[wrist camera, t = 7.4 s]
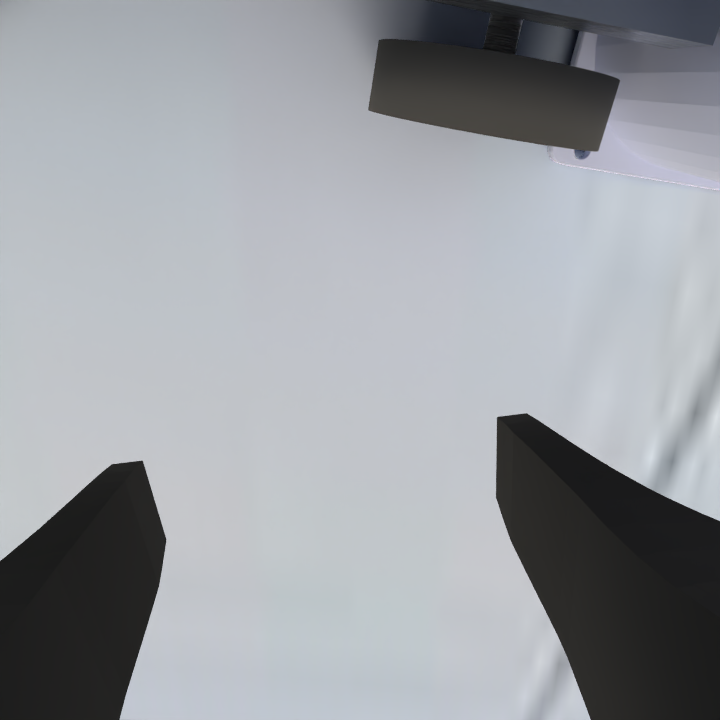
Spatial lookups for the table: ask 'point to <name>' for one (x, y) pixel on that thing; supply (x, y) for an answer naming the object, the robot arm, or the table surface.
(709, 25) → the trolley
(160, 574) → the robot arm
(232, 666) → the table surface
